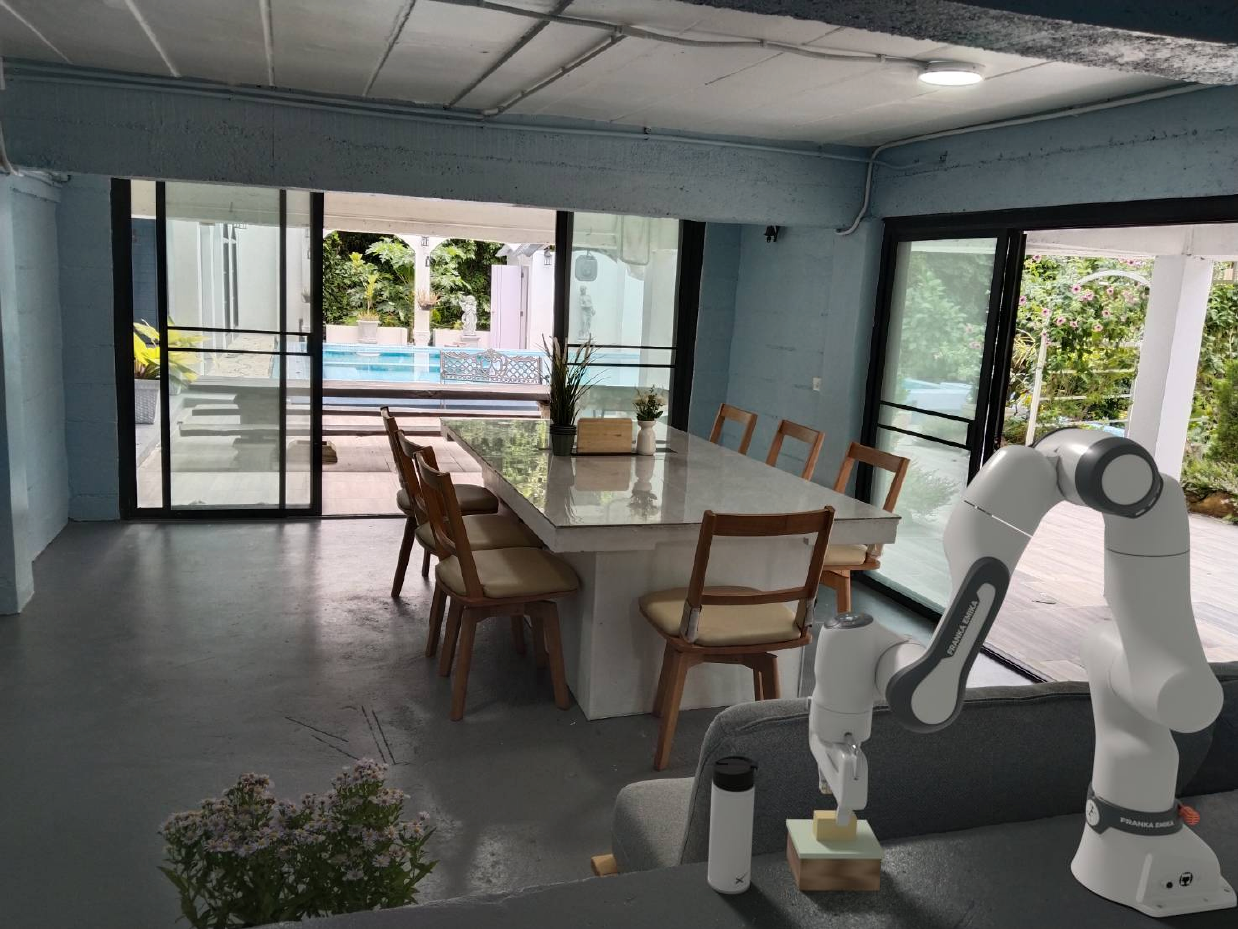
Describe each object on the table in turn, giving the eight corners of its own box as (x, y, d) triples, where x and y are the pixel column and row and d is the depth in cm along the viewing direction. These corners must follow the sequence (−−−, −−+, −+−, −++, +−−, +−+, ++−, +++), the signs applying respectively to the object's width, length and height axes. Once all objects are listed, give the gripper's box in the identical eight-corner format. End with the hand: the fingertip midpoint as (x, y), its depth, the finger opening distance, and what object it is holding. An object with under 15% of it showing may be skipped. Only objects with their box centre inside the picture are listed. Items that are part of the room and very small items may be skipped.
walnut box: (861, 861, 153) (864, 825, 152) (879, 895, 144) (881, 857, 143) (786, 860, 153) (788, 825, 152) (798, 894, 144) (801, 857, 143)
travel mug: (750, 902, 142) (756, 773, 139) (705, 895, 143) (710, 768, 140) (753, 878, 148) (759, 754, 145) (709, 872, 149) (715, 749, 146)
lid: (865, 829, 153) (867, 799, 152) (884, 863, 143) (886, 831, 143) (785, 828, 152) (787, 798, 152) (799, 863, 143) (801, 831, 142)
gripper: (882, 752, 135) (874, 845, 137) (843, 694, 155) (836, 775, 157) (837, 751, 134) (829, 844, 136) (804, 693, 154) (798, 774, 157)
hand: (833, 807), depth 147 cm, fingers open, 8 cm apart
